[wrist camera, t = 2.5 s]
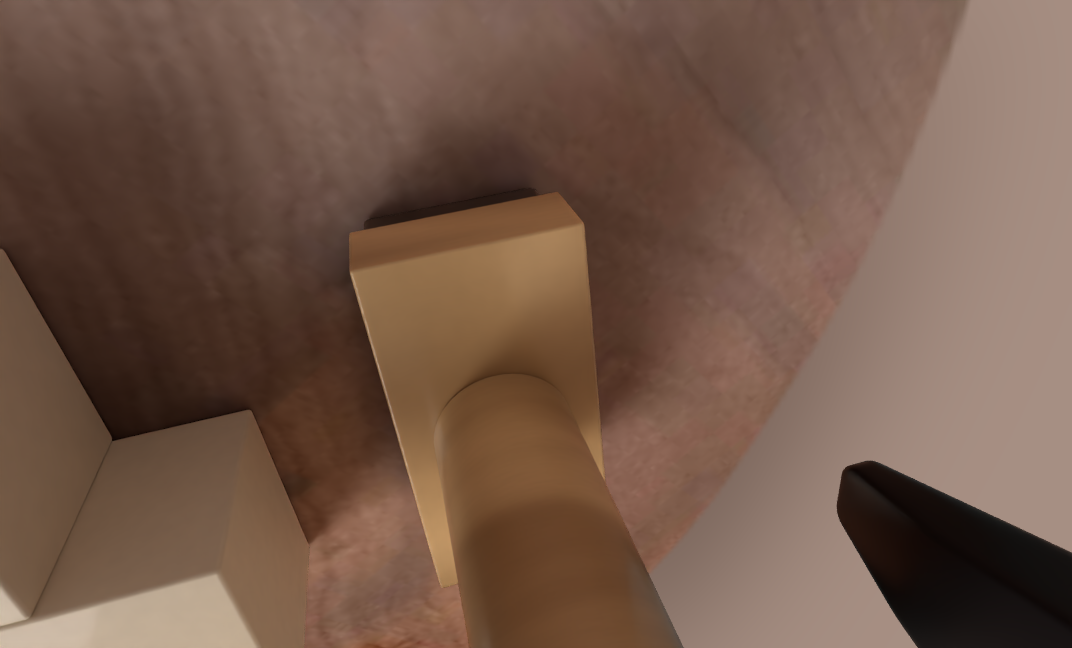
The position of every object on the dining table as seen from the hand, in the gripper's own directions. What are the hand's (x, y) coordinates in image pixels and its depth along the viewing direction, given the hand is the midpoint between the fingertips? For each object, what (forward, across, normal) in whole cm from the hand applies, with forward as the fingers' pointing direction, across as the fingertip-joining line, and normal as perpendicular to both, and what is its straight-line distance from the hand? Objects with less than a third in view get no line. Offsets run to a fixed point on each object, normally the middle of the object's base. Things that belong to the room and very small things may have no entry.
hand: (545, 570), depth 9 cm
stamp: (+6, 0, 0) cm, 6 cm away
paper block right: (+6, +6, +2) cm, 9 cm away
